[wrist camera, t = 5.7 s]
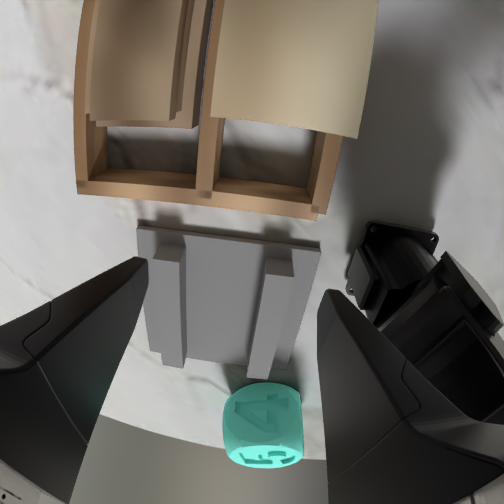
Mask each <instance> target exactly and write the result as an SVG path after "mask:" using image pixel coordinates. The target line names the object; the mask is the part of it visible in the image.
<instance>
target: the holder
mask: <svg viewBox="0 0 504 504" xmlns="http://www.w3.org/2000/svg"><path fill="white" fill-rule="evenodd" d="M136 232H137V246H138V257H141V258H146V259H147V260H148V269H149V285H148V289H147V292H146V295H145V298H144V301H143V306H144V313H145V321H146V327H147V334H148V341H149V347H150V351H153V352H158V353H161V356H162V363H163V365H166V366H172V367H177V368H183V367H184V363H185V359H186V358H192V359H199V360H205V361H212V362H219V363H227V364H235V365H243V366H247V376H246V377H247V378H257V379H268V376H269V373H270V369H271V368H272V369H284V370H286V367H287V364H288V361H289V358H290V355H291V352H292V349H293V346H294V343H295V340H296V337H297V334H298V330H299V327H300V324H301V321H302V318H303V314H304V311H305V308H306V304H307V301H308V298H309V294H310V291H311V287H312V284H313V280H314V277H315V273H316V270H317V266H318V263H319V259H320V255H321V250H320V248H313V247H306V246H299V245H291V244H284V243H276V242H268V241H261V240H253V239H245V238H237V237H230V236H222V235H214V234H206V233H198V232H190V231H182V230H173V229H165V228H157V227H148V226H140V225H139V226H138V227H137V229H136Z"/></svg>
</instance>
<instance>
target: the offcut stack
mask: <svg viewBox="0 0 504 504" xmlns="http://www.w3.org/2000/svg"><path fill="white" fill-rule="evenodd" d="M213 1H214V0H95V6H94V12H93V18H92V25H91V32H90V41H89V50H88V60H87V73H86V92H85V114H89V113H90V121H96V127H104V126H134V127H166V128H185V129H192V128H194V127H196V126H197V125H199V114H200V103H201V93H202V84H203V75H204V66H205V58H206V50H207V42H208V35H209V27H210V20H211V14H212V7H213Z"/></svg>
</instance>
